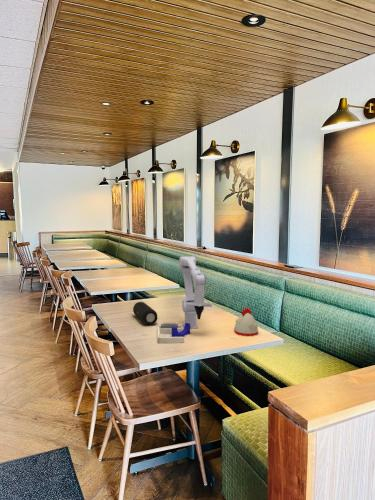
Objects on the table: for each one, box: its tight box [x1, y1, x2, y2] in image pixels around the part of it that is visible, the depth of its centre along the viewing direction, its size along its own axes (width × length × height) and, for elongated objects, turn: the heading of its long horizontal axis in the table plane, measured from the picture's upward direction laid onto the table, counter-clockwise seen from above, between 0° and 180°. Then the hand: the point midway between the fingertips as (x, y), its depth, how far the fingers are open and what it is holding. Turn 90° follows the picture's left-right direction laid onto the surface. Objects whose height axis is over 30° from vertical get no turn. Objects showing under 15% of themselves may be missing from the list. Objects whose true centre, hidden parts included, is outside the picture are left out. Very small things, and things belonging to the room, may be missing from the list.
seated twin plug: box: [160, 322, 179, 328], centre depth 212 cm, size 4×10×5 cm, turn 96°
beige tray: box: [157, 324, 185, 344], centre depth 205 cm, size 21×14×3 cm, turn 6°
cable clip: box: [171, 322, 191, 338], centre depth 207 cm, size 12×4×6 cm, turn 134°
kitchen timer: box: [233, 307, 259, 337], centre depth 214 cm, size 14×14×15 cm
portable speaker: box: [132, 301, 158, 326], centre depth 234 cm, size 26×10×10 cm, turn 25°
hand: (198, 318), depth 208 cm, fingers closed
